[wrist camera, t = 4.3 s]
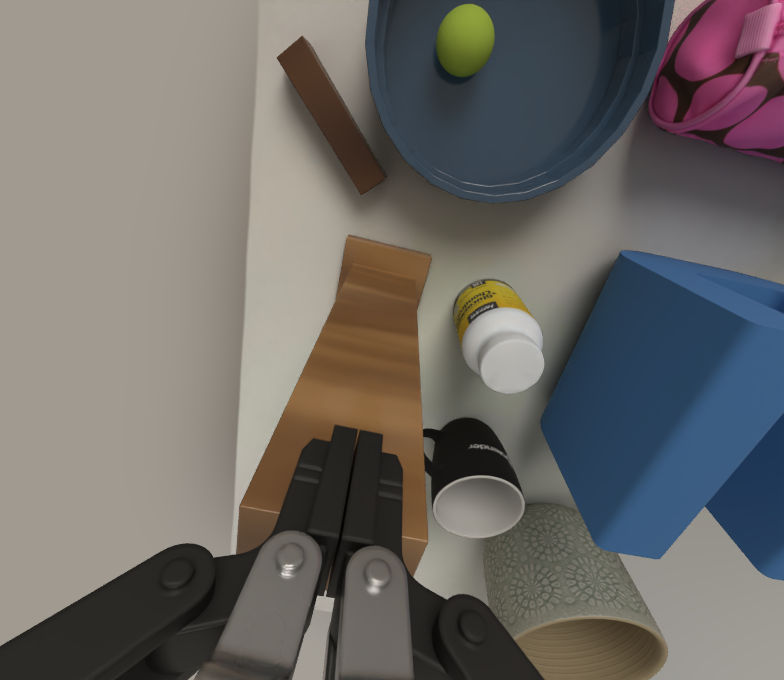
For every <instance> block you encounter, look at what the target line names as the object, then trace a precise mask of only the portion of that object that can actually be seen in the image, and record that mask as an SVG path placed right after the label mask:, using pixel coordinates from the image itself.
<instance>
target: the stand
mask: <svg viewBox="0 0 784 680" xmlns="http://www.w3.org/2000/svg"><path fill="white" fill-rule="evenodd" d="M431 260H432V256H431V255H430V254H426V253H422V252H418V251H414V250H409V249H405V248H401V247H397V246H393V245H389V244H385V243H381V242H377V241H373V240H369V239H365V238H360V237H356V236H352V235H348V237H347V239H346V244H345V250H344V256H343V261H342V267H341V273H340V278H339V284H338V290H337V295H336V301H335V303H334V305H333V307H332V310H331V312H330V314H329V316H328V318H327V320H326V322H325V324H324V327H323V329H322V331H321V333H320V335H319V337H318V339H317V342H316V344H315V346H314V348H313V350H312V352H311V354H310V356H309V359H308V361H307V363H306V365H305V367H304V369H303V371H302V374H301V376H300V378H299V380H298V382H297V384H296V386H295V388H294V391H293V393H292V395H291V397H290V399H289V401H288V403H287V406H286V408H285V410H284V412H283V414H282V416H281V418H280V420H279V423H278V425H277V427H276V429H275V431H274V433H273V435H272V438H271V440H270V442H269V444H268V446H267V448H266V450H265V452H264V455H263V457H262V459H261V461H260V463H259V465H258V467H257V470H256V472H255V474H254V476H253V478H252V480H251V482H250V484H249V487H248V489H247V491H246V493H245V495H244V497H243V499H242V502H241V504H240V506H239V520H238V535H237V549H236V554H241V553H245V552H248V551H250V550H252V549H254V548H256V547H258V546H259V545H261V544H262V543H263V542H264V541H265V540H266V539H267V538H268V537H269V536H270V535H271V533H272V531H273V530H274V527H275V525H276V522H277V519H278V516H279V514H280V511H281V508H282V505H283V502H284V499H285V496H286V494H287V491H288V488H289V485H290V482H291V479H292V477H293V474H294V471H295V468H296V466H297V462H298V459H299V456H300V454H301V451H302V449H303V448H304V447H305V446H306V445H307V444H308V443H309V442H310V441H311V440H312V439H313V438H316V439H321V440H326V441H331V437H332V433H333V429H334V426H335V424H336V425H341V426H346V427H351V428H355V429H358V433H357V438H358V434H359V431H360V429H361V430H366V431H370V432H375V433H380V434H383V444H382V452H385V453H390V454H395V455H397V457H398V459H399V461H400V463H401V466H402V468H403V499H402V501H403V514H402V555H403V560H404V563H405V565H406V567H407V569H408V571H409V573H410V574H411V575H412V577H413V576H414V573H415V571H416V569H417V567H418V564H419V562H420V560H421V557H422V555H423V553H424V551H425V548H426V546H427V544H428V524H427V504H426V484H425V464H424V444H423V423H422V403H421V383H420V363H419V343H418V323H417V309H418V305H419V302H420V298H421V295H422V291H423V288H424V284H425V281H426V277H427V274H428V270H429V267H430V263H431ZM357 438H356V442H357ZM355 446H356V444H355ZM331 567H332V566H331ZM330 573H331V569H330ZM330 573H329V577H328V581H327V585H326V588H325V590H327V589H328V583H329V578H330Z"/></svg>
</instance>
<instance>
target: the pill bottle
mask: <svg viewBox="0 0 784 680" xmlns="http://www.w3.org/2000/svg"><path fill="white" fill-rule="evenodd" d="M453 315H454V321H455V325H456V329H457V333H458V337H459V341H460V345H461V349H462V353H463V356H464V359H465V361H466V363H467V364H468V366H469V367H470V368H471V369H472V370H473V371H474V372H475V373H477V374H478V375H480V376H481V378H482V380H483V382H484V383H485V384H486V385H487V386H488V387H489V388H490V389H492V390H494V391H496V392H499V393H503V394H513V393H519V392H522V391H524V390H526V389H528V388H530V387H531V386H533V385H534V384H535V383H536V382H537V381H538V380H539V378H540V377H541V375H542V373H543V370H544V358H543V355H542V353H541V351H542V348H543V336H542V332H541V329H540V327H539V325H538V323H537V322H536V320H535V319H534V318H533V316H532V315H531V313H530V312H529V311H528V309H527V308H526V306H525V305H524V303H523V302H522V301H521V299H520V298H519V296H518V295H517V293H516V292H515V291H514V290H513V288H512V287H511V286H509V285H508V284H507V283H505V282H503V281H500V280H497V279H481V280H477V281H475V282H472V283H471V284H469V285H467V286H466V287H465V288H464V289H463V290H462V291H461V292H460V293H459V295H458V296H457V298H456V301H455V303H454V309H453Z"/></svg>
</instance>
